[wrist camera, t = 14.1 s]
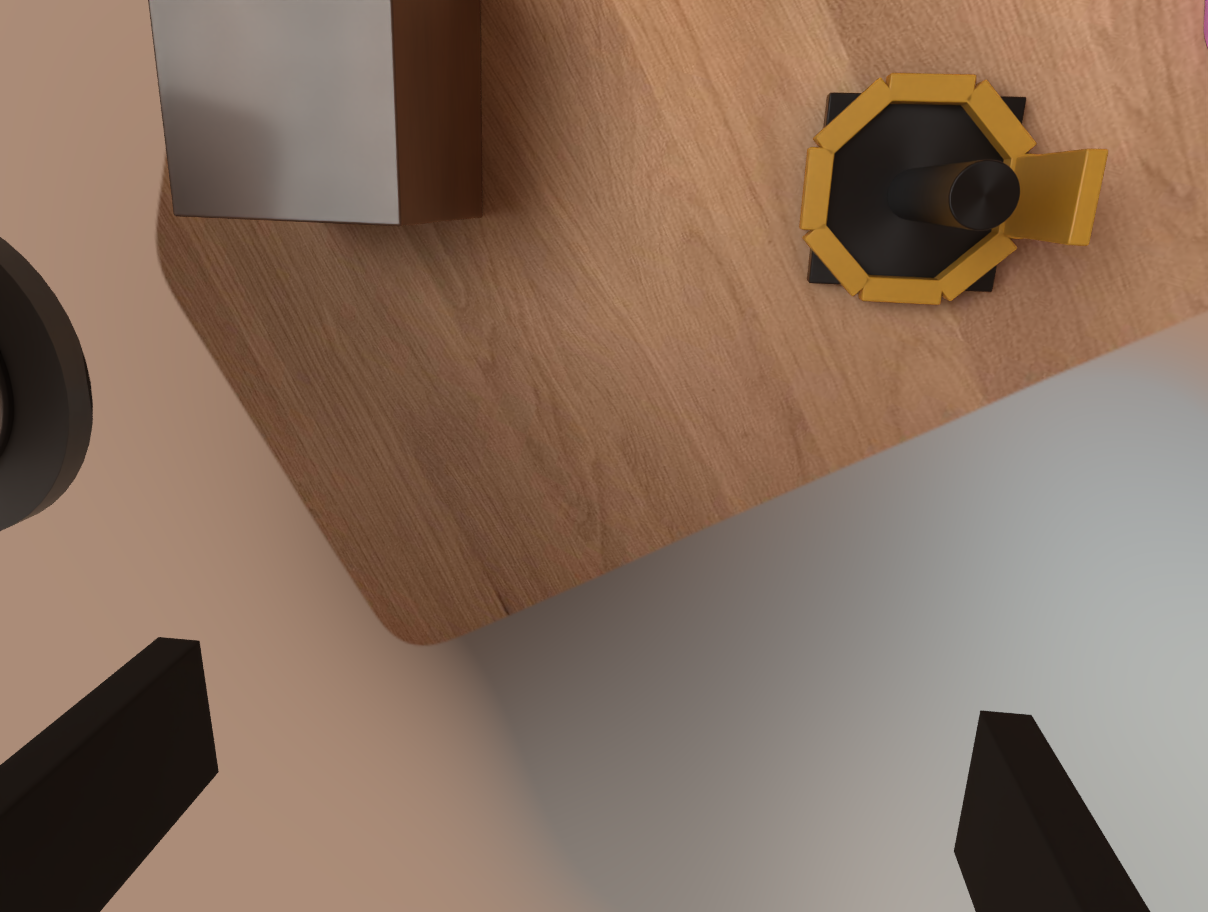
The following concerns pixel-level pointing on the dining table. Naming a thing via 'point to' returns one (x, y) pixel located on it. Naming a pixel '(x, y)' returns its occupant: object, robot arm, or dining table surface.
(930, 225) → the post
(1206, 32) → the bracket
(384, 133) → the block
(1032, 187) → the ring
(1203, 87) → the dining table surface
